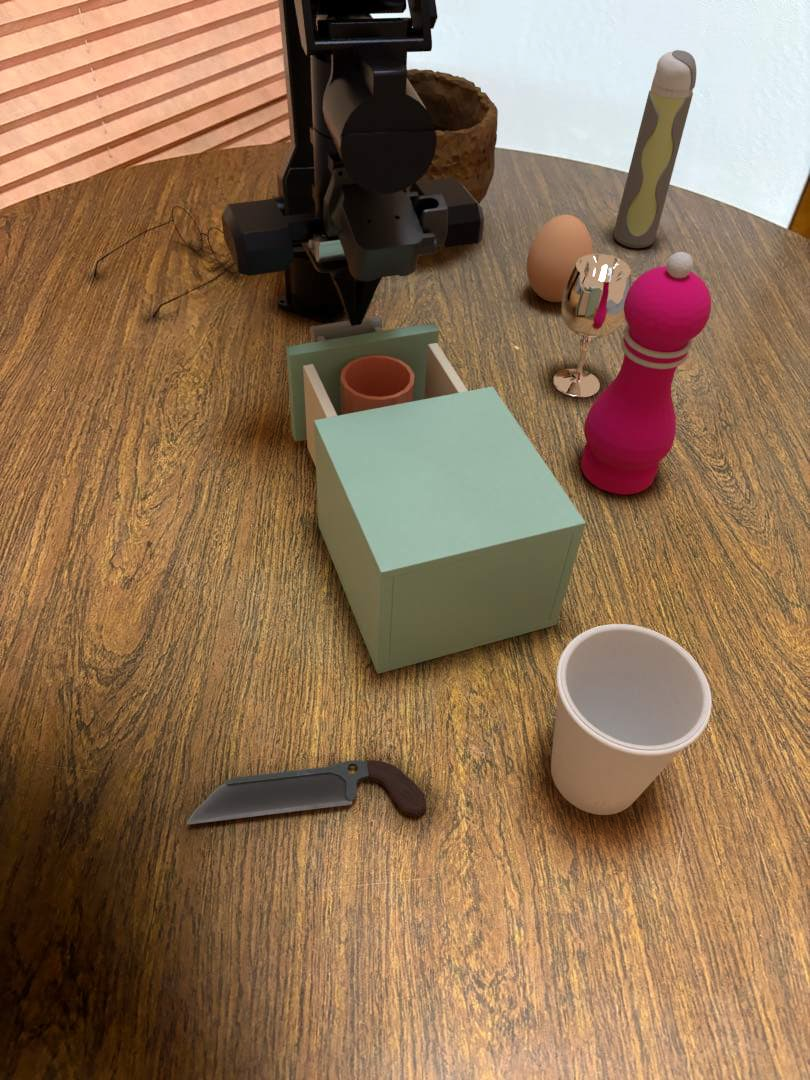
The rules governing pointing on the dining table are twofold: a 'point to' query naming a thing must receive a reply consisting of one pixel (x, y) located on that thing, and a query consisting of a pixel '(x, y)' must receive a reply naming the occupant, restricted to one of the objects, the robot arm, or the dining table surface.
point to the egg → (556, 255)
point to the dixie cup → (623, 714)
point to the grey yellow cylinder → (656, 150)
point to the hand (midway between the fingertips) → (354, 322)
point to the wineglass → (592, 313)
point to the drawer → (340, 343)
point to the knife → (306, 791)
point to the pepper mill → (645, 378)
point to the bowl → (459, 129)
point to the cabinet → (442, 525)
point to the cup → (375, 383)
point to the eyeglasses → (186, 244)
